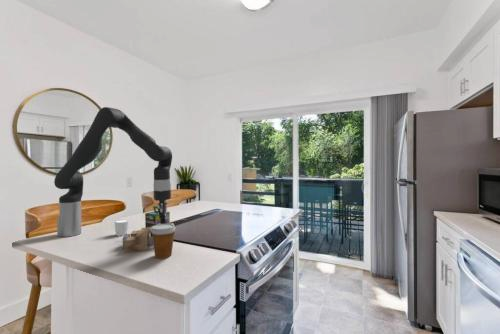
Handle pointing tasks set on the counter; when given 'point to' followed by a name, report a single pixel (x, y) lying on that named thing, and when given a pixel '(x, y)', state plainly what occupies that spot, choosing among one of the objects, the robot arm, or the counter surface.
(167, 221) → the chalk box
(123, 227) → the white cup
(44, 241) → the counter surface
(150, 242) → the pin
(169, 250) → the disposable coffee cup
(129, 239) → the hitch block
